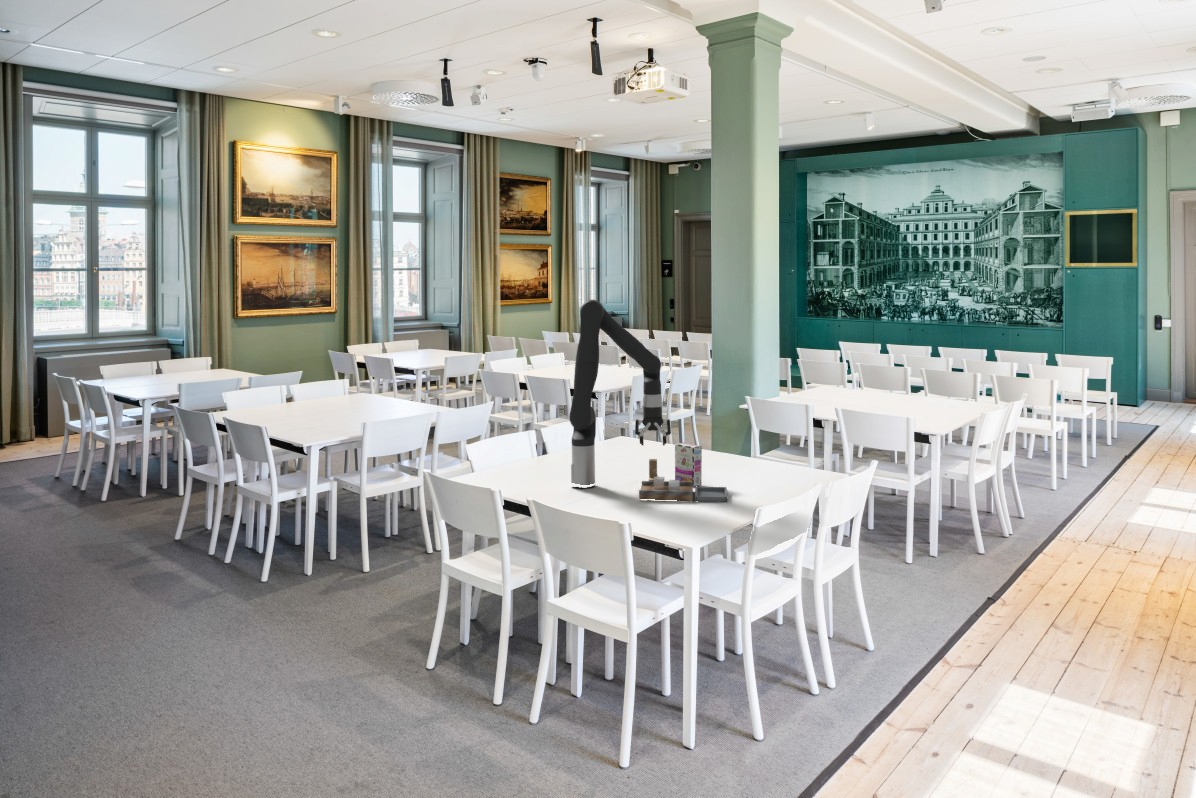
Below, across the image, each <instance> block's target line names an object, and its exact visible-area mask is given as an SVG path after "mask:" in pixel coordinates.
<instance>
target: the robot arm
mask: <svg viewBox="0 0 1196 798" xmlns="http://www.w3.org/2000/svg"><path fill="white" fill-rule="evenodd" d="M579 309H580V310H579V317H580V322H579V323H580V330H579V331H580V332H579V334H580V335H579V339H578V343H577V347H576V348H577V349H576V356H575V364H574V375H573V376H574V378H573V396H572V401H571V406H570V410H569V415H568V416H569V417H568V418H569V422H570V424H571V426H572V427H573V433H572V437H571V464H570V469H571V470H570V473H571V474H570V476H571V483H575V484H580V485H590V484H594V483H595V484H596V460H595V458H596V457H595V456H596V451H595V447H596V446H595V440H596V435H597V432H596V431H597V430H596V428H597V426H596V425H597V416H596V411H595V409H594V408H593V407H592V395H593V391H594V387H595V385H596V381H597V378H598V373H599V363H600V342H599V341H600V340H599V339H600V338H599V336H600V330H601V331H603V333H605V334H606V335H607V336H609V338H610V339H611V340H612V341H613V342H614V344H616V346H618V348H620V350H622V351H623V353H626V355H627V356H628V357H630V358H632V359H633V360H634V361H635V362H636V363H637V364H638V365H639V366H640V367H641V369H642V375H643V397H642V409H643V410H642V413H643V415H642V416H643V417H642V419H639V418H638V419H637V418H636V419H635V422H634V423H635V425H634V435H636V436H639V444H641V446H644V434H645V433H646V432H647V431H659V432H660V433H661V434H662V446H665V445H666V444H667V436H670V435H671V434H672V428H671V419H670V418H668V419H663V398H662V382H661V368H662V361H661V360H660V358H659V357H658V356H657V355H655V354H653V353H652V352H651V351H650V350H649V349H648V348H647V347H645V345H644V344H643V343H642V342H641V341H640V340H638V339H637V337H635V336H634V335H633V334H632V333H630V332H629V331H627V329H625V328H624V327H623V326H622V325H621V324H620V323H618V322H617V321H616V320H615V319H614V318H613V317H612V316H611V315H610V313H608V311H607V310H606V309H605V307H604V306H603V304H602V303H601V302H600V301H599V300H596V299H588V300H586V301H584V303H583V304H581V307H580V308H579ZM641 424H642V425H643V426H644V427H643V428H642V430H641V431H639V427H640V426H641ZM663 424H665V425H666V429H667V431H665V429H664V428H663V427H662V425H663Z"/></svg>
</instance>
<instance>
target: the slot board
mask: <svg viewBox="0 0 1196 798" xmlns="http://www.w3.org/2000/svg"><path fill="white" fill-rule="evenodd" d="M693 496H694V487H693V482H682V481H680V491H669V480H664V489H654V481H649V480H642V481H641V488H640V489H639V490H638V500H639V499H655V500H677V501H692V502H693Z"/></svg>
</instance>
